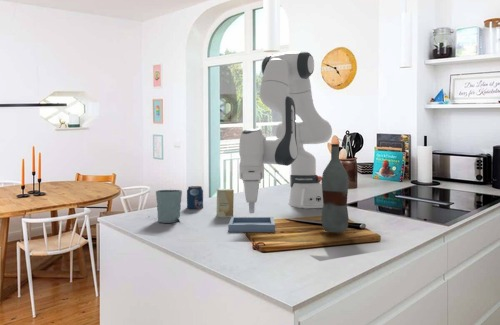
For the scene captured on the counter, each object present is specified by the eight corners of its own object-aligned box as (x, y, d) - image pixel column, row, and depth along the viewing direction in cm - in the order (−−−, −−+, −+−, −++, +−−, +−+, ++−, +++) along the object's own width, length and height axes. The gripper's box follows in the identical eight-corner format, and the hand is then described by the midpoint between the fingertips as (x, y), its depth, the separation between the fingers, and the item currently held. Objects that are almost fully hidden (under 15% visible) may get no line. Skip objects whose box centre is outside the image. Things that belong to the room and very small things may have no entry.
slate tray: (273, 223, 164) (273, 216, 164) (275, 231, 148) (275, 224, 148) (231, 223, 164) (231, 217, 164) (228, 231, 148) (228, 224, 148)
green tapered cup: (151, 222, 169) (150, 191, 168) (165, 218, 178) (164, 189, 178) (173, 223, 165) (173, 192, 165) (186, 219, 175) (186, 189, 174)
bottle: (331, 233, 145) (331, 143, 143) (316, 228, 153) (316, 144, 152) (354, 231, 149) (354, 143, 147) (337, 226, 157) (338, 144, 156)
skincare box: (218, 220, 171) (218, 189, 170) (216, 219, 175) (215, 188, 175) (234, 219, 173) (234, 189, 172) (231, 218, 177) (231, 188, 176)
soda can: (198, 215, 183) (198, 187, 183) (184, 215, 186) (183, 187, 185) (205, 213, 190) (205, 186, 189) (191, 212, 192) (191, 185, 192)
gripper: (243, 172, 166) (244, 207, 166) (241, 175, 145) (242, 216, 146) (260, 172, 166) (260, 207, 166) (260, 175, 145) (260, 216, 146)
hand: (251, 212), depth 156 cm, fingers open, 3 cm apart
